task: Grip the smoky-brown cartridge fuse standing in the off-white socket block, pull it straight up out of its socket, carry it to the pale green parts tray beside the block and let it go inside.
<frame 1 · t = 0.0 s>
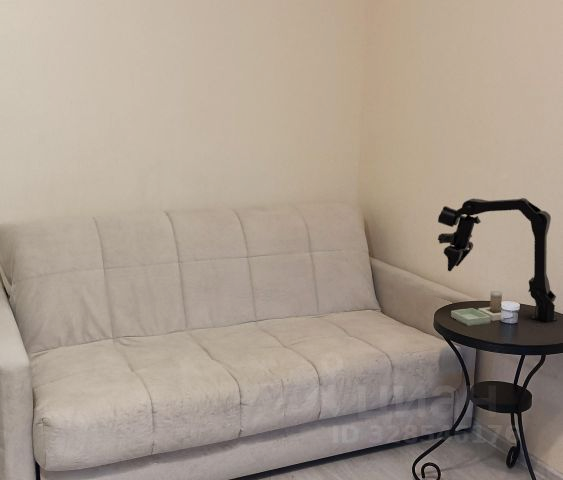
hand: (452, 268, 265), 15 cm above the table, tool pointing down, fingers open, 9 cm apart
parts tray: (470, 320, 251), on the table
socket block: (495, 315, 256), on the table
blown fuse: (495, 304, 255), in the socket block
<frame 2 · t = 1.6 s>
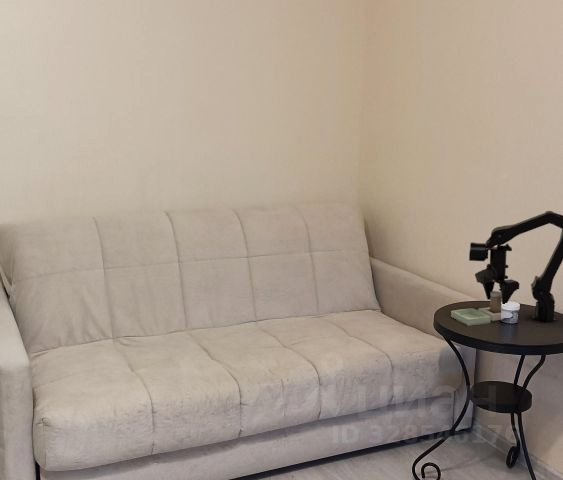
hand: (496, 302, 254), 5 cm above the table, tool pointing down, fingers open, 9 cm apart
nothing on the table moved.
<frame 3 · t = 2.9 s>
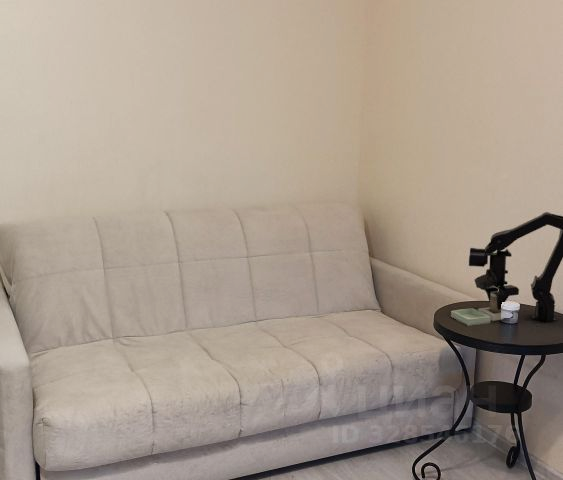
hand: (495, 308, 255), 3 cm above the table, tool pointing down, fingers closed on blown fuse, 4 cm apart
blown fuse: (495, 304, 255), in the socket block, touching gripper
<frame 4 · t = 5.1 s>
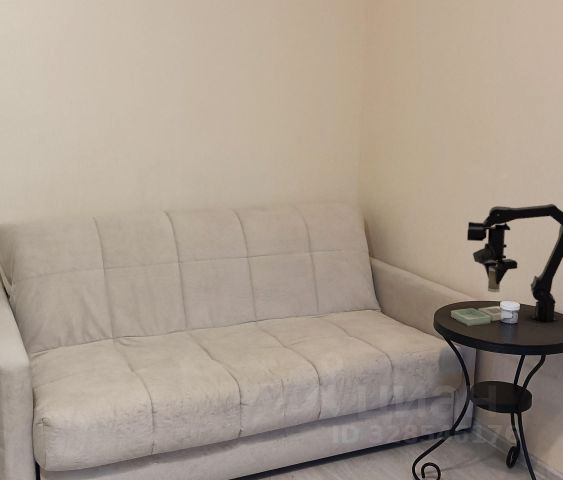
hand: (494, 282, 253), 13 cm above the table, tool pointing down, fingers closed on blown fuse, 4 cm apart
blown fuse: (494, 278, 252), point 14 cm above the table, touching gripper
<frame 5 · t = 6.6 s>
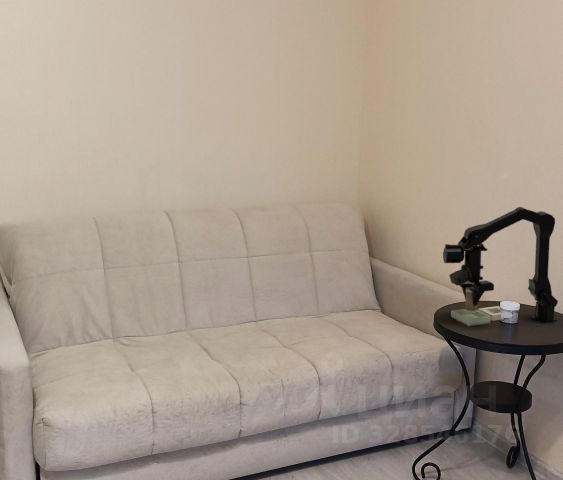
hand: (471, 304, 250), 6 cm above the table, tool pointing down, fingers closed on blown fuse, 4 cm apart
blown fuse: (471, 300, 249), point 8 cm above the table, touching gripper
when the fingers open (5 cm above the table, at t = 7.4 s): blown fuse drops 2 cm, resting on parts tray.
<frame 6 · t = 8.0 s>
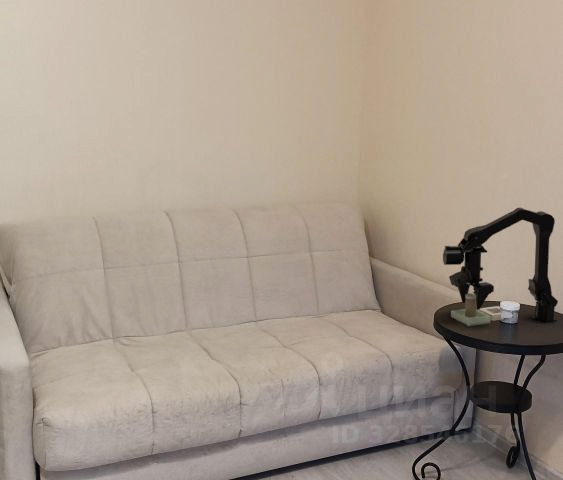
hand: (470, 305, 250), 5 cm above the table, tool pointing down, fingers open, 9 cm apart
blown fuse: (470, 306, 250), in the parts tray, point 5 cm above the table
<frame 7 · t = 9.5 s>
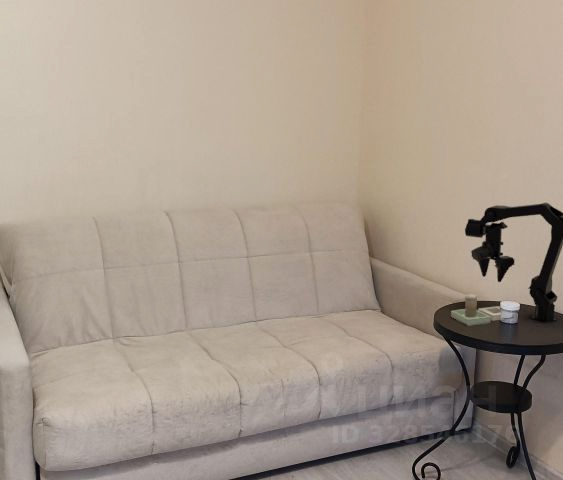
hand: (491, 279, 261), 12 cm above the table, tool pointing down, fingers open, 9 cm apart
nothing on the table moved.
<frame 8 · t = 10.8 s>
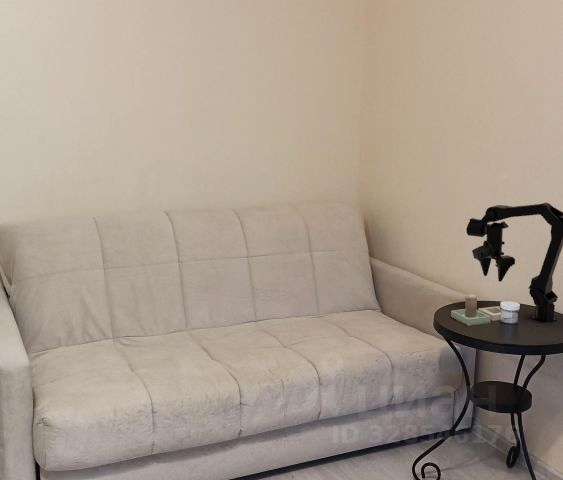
hand: (492, 278, 262), 12 cm above the table, tool pointing down, fingers open, 9 cm apart
nothing on the table moved.
at the end: blown fuse inside the target area on the parts tray (0.0 cm from its centre), point 5.1 cm above the parts tray's base; the gripper is holding nothing; blown fuse moved 11.5 cm from its start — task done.
